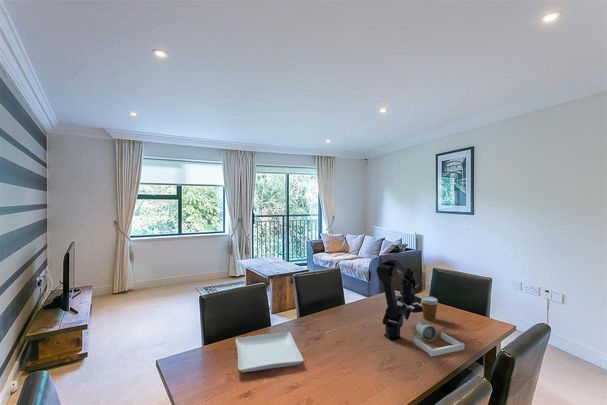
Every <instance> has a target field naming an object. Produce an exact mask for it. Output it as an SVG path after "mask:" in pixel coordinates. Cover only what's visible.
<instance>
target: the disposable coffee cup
mask: <svg viewBox="0 0 607 405" xmlns="http://www.w3.org/2000/svg"><path fill="white" fill-rule="evenodd" d="M420 298H422V300H421V303H420V304H421V306H422V308H423V312H422V316H423V319H424V320H425V321H426V322H434V321H435V320H436V316H437V315H436V314H437V308H438V304H439V301H438V298H436V297H434V296H430V295H428V296H427V295H424V296H421V297H420Z"/></svg>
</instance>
